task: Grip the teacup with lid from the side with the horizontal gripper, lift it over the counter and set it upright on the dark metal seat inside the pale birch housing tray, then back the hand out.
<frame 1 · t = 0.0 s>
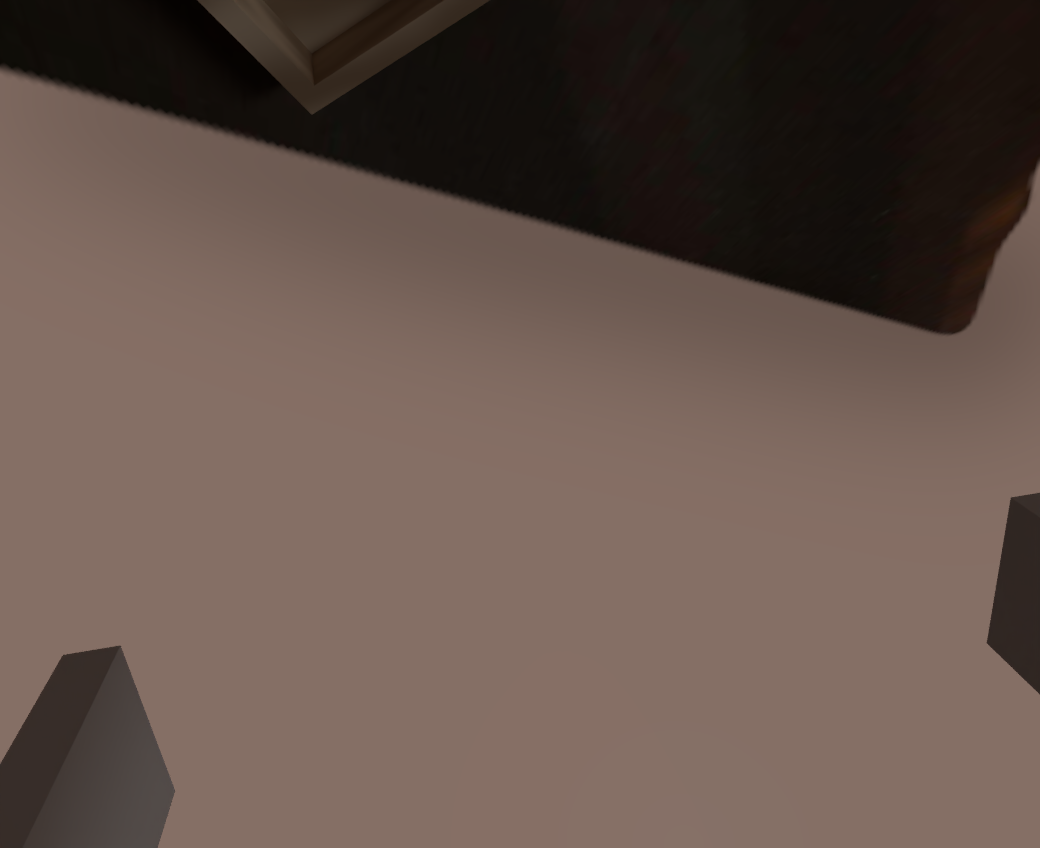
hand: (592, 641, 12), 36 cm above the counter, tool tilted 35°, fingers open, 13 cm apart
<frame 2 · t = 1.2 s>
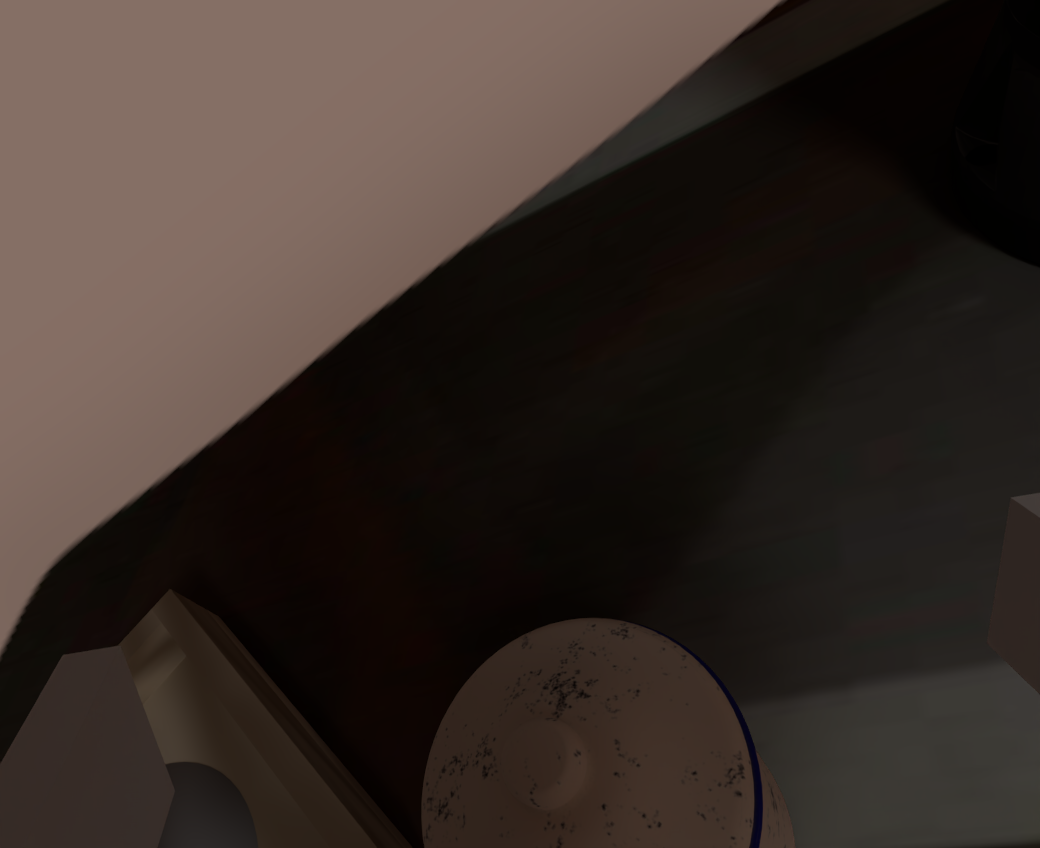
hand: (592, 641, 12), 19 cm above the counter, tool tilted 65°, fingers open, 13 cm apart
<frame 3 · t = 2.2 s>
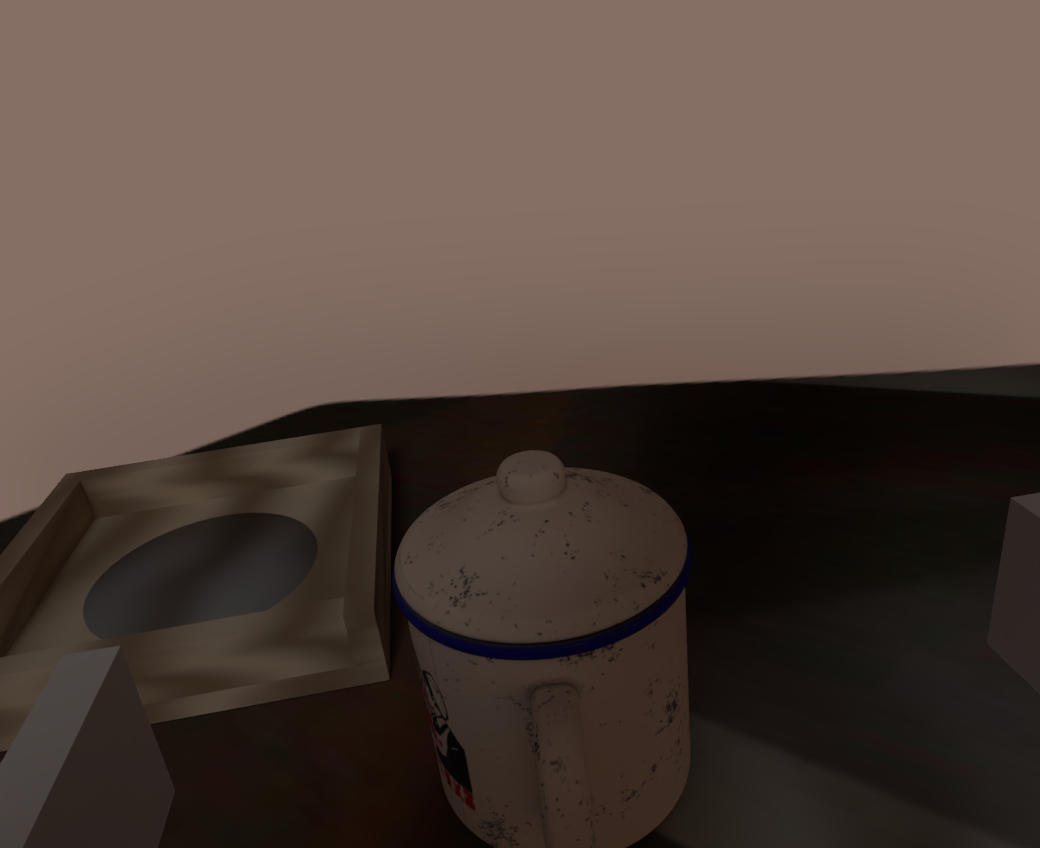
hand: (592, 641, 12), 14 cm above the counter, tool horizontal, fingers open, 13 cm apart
housing tray: (210, 588, 40), on the counter
teacup with lid: (568, 795, 27), on the counter
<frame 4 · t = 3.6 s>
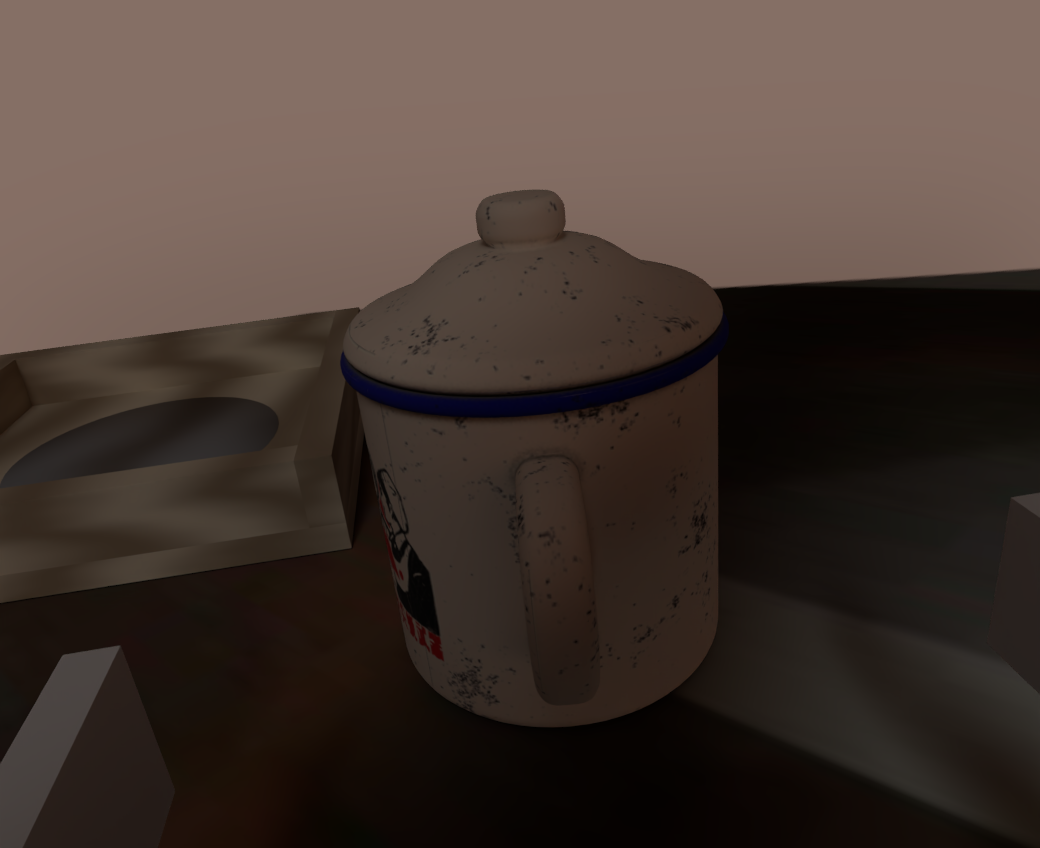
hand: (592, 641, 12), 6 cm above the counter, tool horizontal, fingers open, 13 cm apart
housing tray: (153, 469, 35), on the counter
teacup with lid: (564, 660, 22), on the counter
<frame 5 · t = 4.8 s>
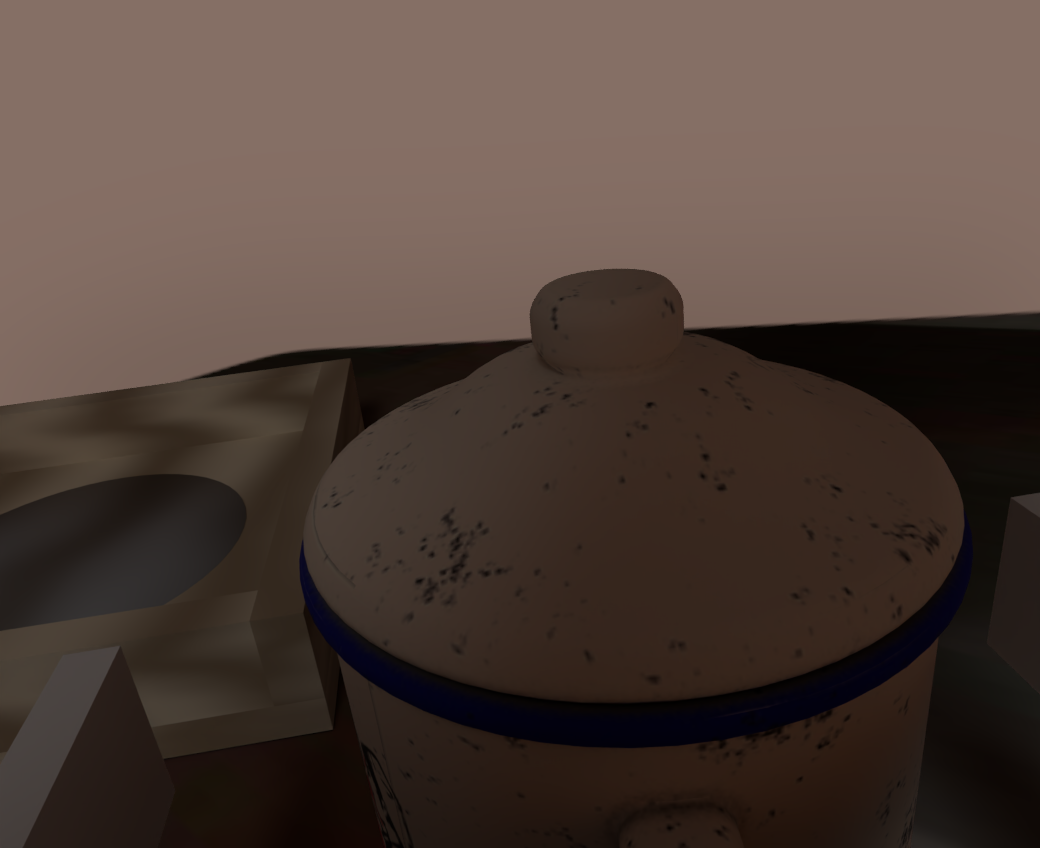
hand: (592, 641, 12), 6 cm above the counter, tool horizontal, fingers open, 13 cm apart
housing tray: (84, 579, 27), on the counter
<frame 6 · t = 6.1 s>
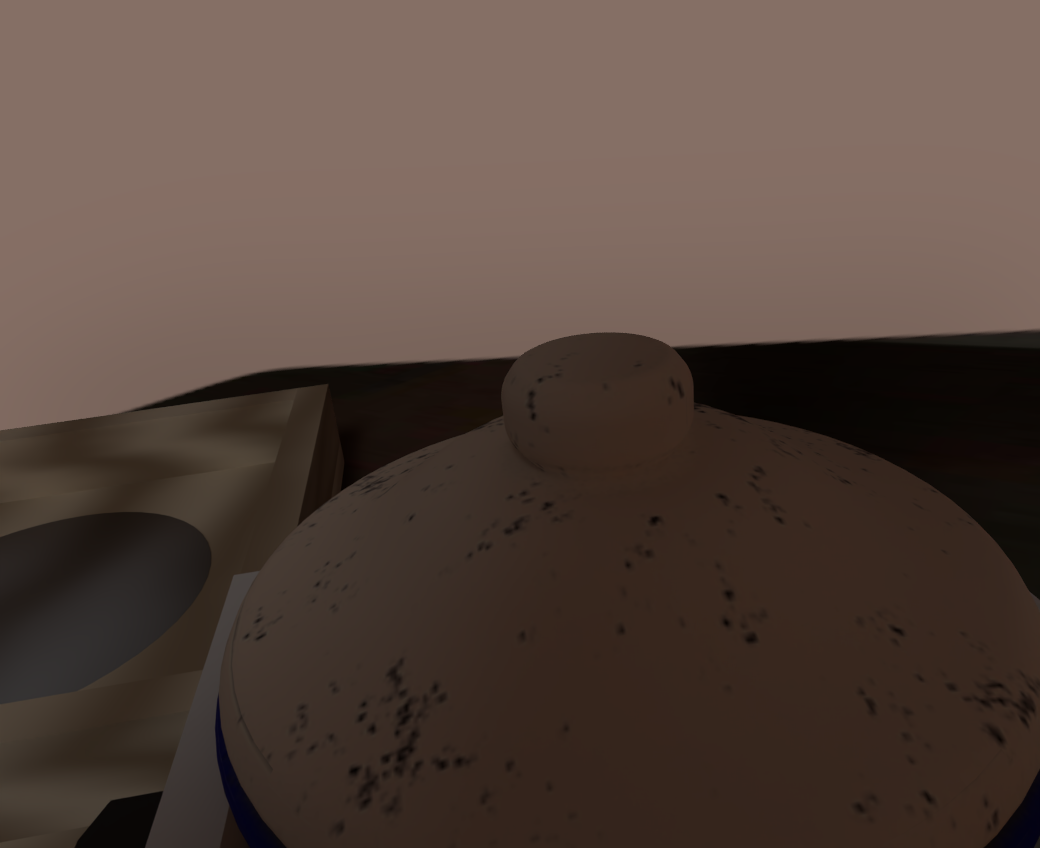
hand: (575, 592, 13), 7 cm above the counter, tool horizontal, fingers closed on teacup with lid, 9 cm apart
housing tray: (33, 633, 25), on the counter
when the fingers open (9 cm above the counter, at t = 11.7 s): teacup with lid drops 1 cm, resting on housing tray.
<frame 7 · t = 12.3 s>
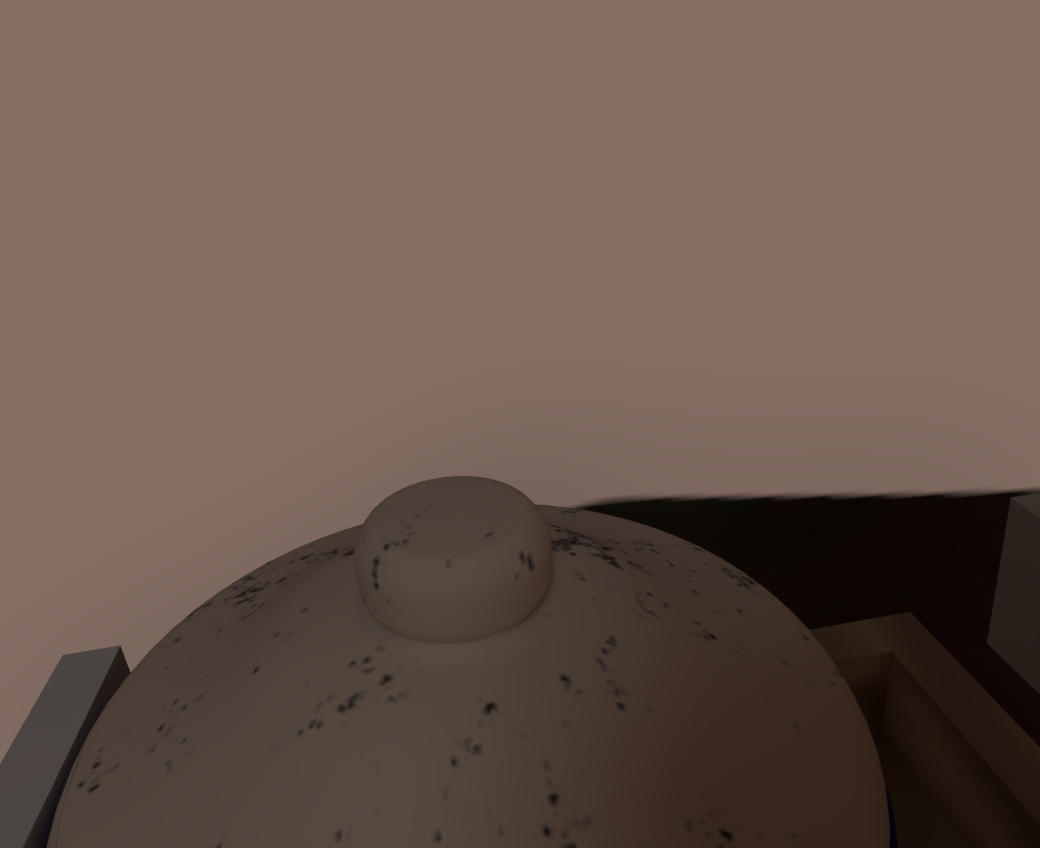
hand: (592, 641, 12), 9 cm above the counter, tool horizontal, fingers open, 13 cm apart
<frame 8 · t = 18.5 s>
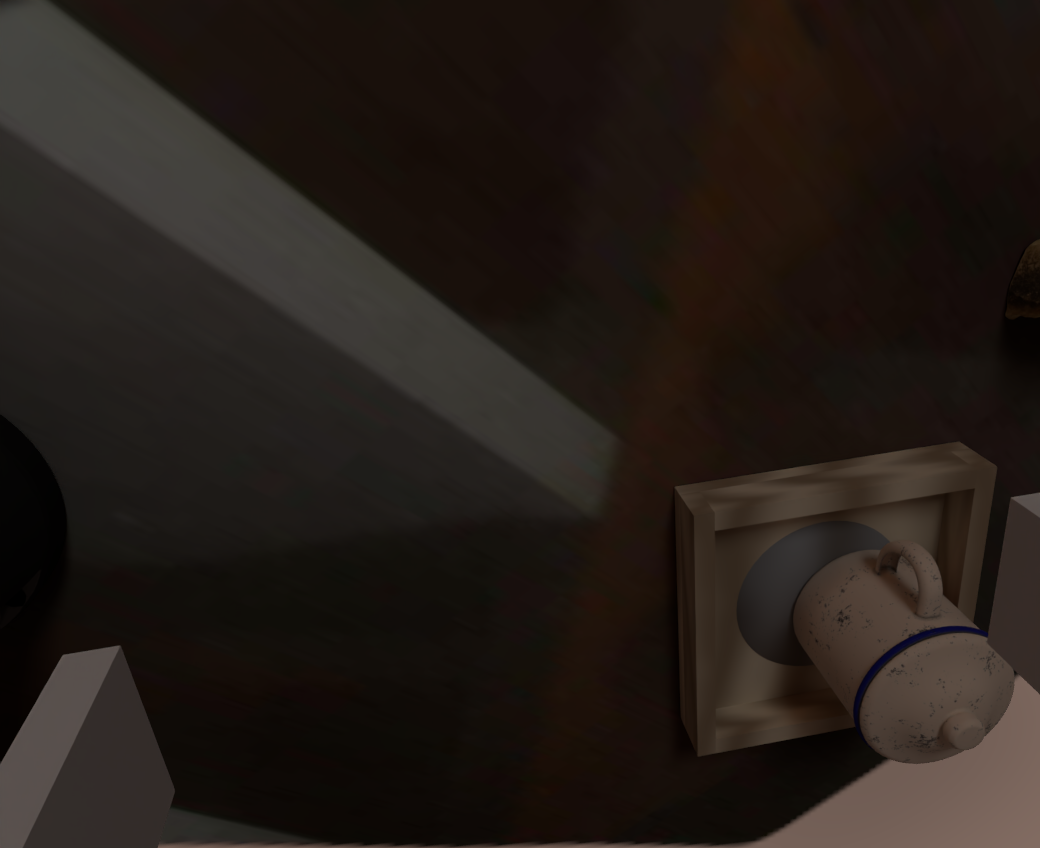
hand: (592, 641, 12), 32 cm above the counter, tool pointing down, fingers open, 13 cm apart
housing tray: (812, 587, 53), on the counter
teacup with lid: (855, 583, 52), point 1 cm above the counter, touching housing tray
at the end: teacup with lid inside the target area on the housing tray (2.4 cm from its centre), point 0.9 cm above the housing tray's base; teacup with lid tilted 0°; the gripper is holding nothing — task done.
